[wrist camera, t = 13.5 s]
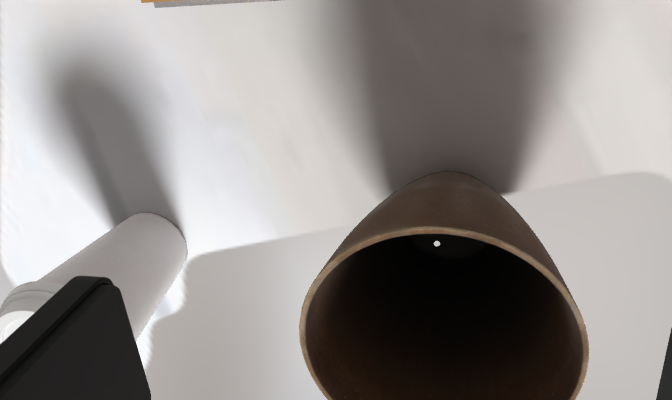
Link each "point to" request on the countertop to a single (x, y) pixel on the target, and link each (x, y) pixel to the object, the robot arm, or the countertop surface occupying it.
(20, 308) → the coffee cup
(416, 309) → the plant pot
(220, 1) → the tray on grey cylinder
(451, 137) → the countertop surface
